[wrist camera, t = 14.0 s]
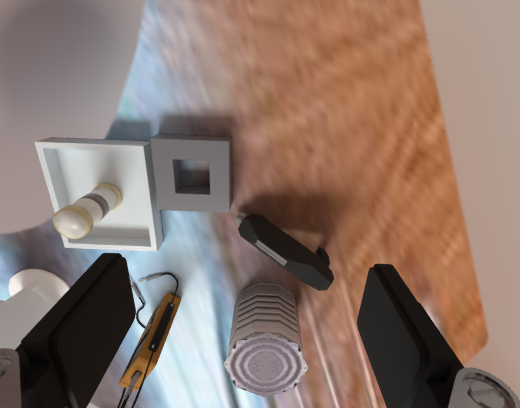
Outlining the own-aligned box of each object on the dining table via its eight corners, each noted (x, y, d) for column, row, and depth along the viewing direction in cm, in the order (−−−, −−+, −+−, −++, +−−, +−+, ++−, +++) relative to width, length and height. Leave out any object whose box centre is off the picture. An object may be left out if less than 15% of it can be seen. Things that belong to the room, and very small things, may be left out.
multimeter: (139, 255, 47) (58, 369, 29) (192, 283, 49) (148, 405, 31) (106, 311, 52) (20, 437, 34) (156, 334, 54) (99, 464, 36)
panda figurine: (-7, 283, 50) (-110, 361, 36) (36, 255, 47) (-57, 327, 34) (46, 326, 54) (-29, 411, 40) (89, 303, 51) (24, 385, 38)
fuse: (92, 182, 41) (49, 208, 33) (120, 183, 41) (83, 209, 33) (98, 207, 43) (58, 238, 34) (124, 208, 42) (90, 239, 34)
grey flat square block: (158, 134, 39) (149, 138, 36) (231, 137, 39) (228, 141, 36) (165, 201, 43) (158, 209, 40) (231, 204, 43) (229, 212, 40)
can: (225, 320, 52) (215, 384, 41) (246, 273, 48) (240, 331, 37) (283, 336, 54) (287, 403, 43) (308, 292, 49) (320, 354, 38)
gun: (262, 201, 49) (232, 213, 40) (345, 258, 44) (331, 285, 35) (255, 215, 50) (224, 229, 41) (335, 271, 45) (320, 301, 36)
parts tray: (50, 137, 39) (34, 141, 36) (151, 141, 39) (143, 146, 36) (77, 237, 46) (64, 247, 43) (163, 241, 46) (157, 251, 43)
